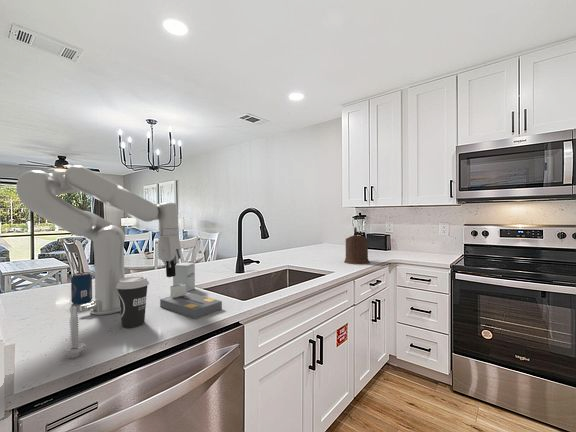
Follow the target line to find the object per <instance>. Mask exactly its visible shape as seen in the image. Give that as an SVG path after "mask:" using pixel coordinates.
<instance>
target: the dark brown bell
mask: <svg viewBox="0 0 576 432" xmlns="http://www.w3.org/2000/svg"><path fill="white" fill-rule="evenodd" d="M357 229H358V228H357V226H356V227H354V228H353V232H354V233H353V235H351V236H348V238H345V260H344V261H343V263H344V264H349V265H359V266H361V265H369V264H370V260H369V258H368V257H369V255H368V253H369V248H368V247H369V239H368V238H367V237H366V236H364V235H359V234H358V233H357V232H358V231H357Z"/></svg>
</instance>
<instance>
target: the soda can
mask: <svg viewBox="0 0 576 432" xmlns="http://www.w3.org/2000/svg"><path fill="white" fill-rule="evenodd" d="M70 284H71V286H70V288H71V289H70V290H71V291H70V292H71V293H70V295H71V296H70V298H71V303H72V304H73V306H75V305H76V306H78V305H79V306H80V305H84V304H89V303H90V302H92V300H93V277H92V275H91V272H88V271H86V272H77V273H73V274H72V277H71V279H70Z"/></svg>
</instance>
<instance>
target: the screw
mask: <svg viewBox="0 0 576 432" xmlns="http://www.w3.org/2000/svg"><path fill="white" fill-rule="evenodd" d="M69 330H70V331H69V339H70V340H69V342H70V343H69V344H70V345H67V346H65V347H64V348H63V349H62V353H63V354H64V355H67V358H68V359H71V358H73V359H76V358H78V357H80V356H81V355H82V351H83V350H85V349H86V348H87V345H86V344H85V343H84V342H83V343H82V342H79V341H80V340H79V338H80V337H79V314H78V307H77V305H76V306H75V305H73V306H71V307H70V317H69Z"/></svg>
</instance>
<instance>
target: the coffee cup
mask: <svg viewBox="0 0 576 432" xmlns="http://www.w3.org/2000/svg"><path fill="white" fill-rule="evenodd" d="M149 284H150V282H149V280H148V279H147V277H146V276H143V275H142V276H141V275H140V276H127V277H124V278H123V279H120V280H119V282H118V283H117V285H116V288H117V289H118V295H119V303H120V320H121V327H122V328H124V329H133V328H137V327H138V328H139V327H140V326H143V325H144V324H145V319H146V307H147V306H146V305H147V297H148V296H147V295H148V286H149Z"/></svg>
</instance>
